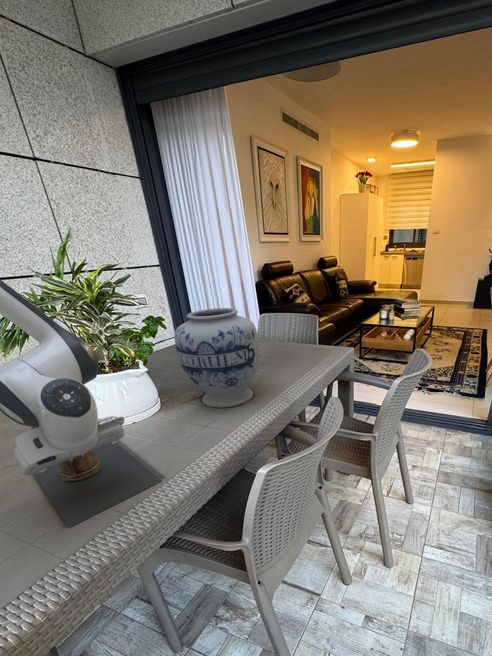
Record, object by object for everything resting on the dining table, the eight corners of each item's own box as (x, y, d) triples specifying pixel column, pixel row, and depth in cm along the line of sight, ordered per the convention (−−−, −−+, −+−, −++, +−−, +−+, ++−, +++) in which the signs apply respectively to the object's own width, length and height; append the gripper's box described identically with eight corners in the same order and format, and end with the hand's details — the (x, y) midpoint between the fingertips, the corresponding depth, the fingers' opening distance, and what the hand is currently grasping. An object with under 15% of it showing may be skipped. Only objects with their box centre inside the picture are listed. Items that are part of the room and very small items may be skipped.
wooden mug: (48, 497, 80) (11, 429, 72) (69, 464, 92) (40, 402, 83) (90, 490, 82) (60, 422, 73) (106, 458, 94) (81, 397, 85)
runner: (68, 528, 72) (68, 527, 72) (34, 475, 88) (33, 474, 88) (162, 481, 84) (162, 480, 84) (116, 442, 101) (116, 442, 101)
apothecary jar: (172, 406, 121) (148, 317, 107) (222, 379, 142) (207, 302, 128) (235, 419, 111) (218, 323, 96) (278, 388, 132) (270, 305, 117)
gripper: (117, 403, 78) (115, 428, 89) (3, 440, 65) (17, 465, 76) (131, 426, 78) (127, 449, 88) (19, 469, 65) (31, 489, 76)
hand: (75, 456), depth 82 cm, fingers closed
